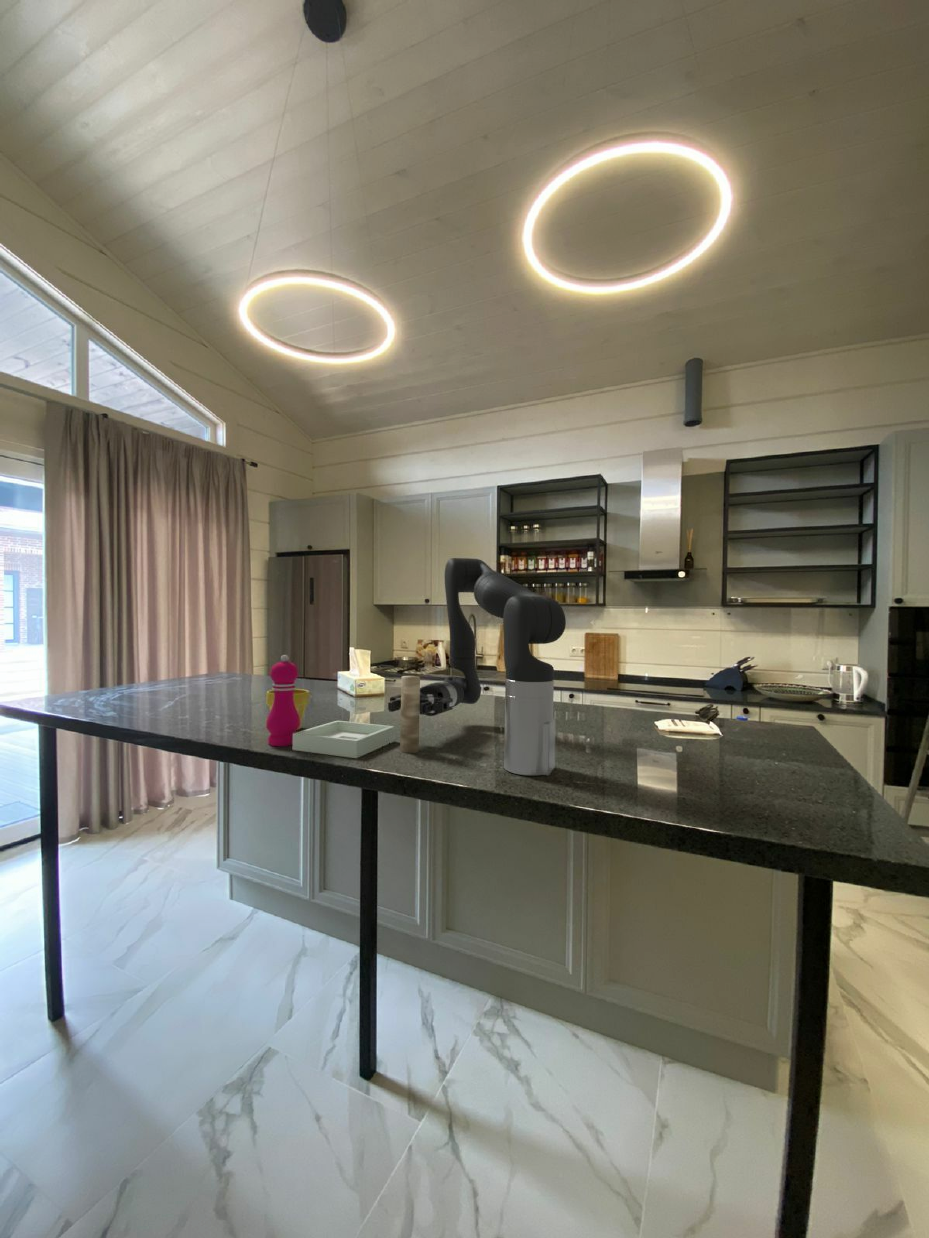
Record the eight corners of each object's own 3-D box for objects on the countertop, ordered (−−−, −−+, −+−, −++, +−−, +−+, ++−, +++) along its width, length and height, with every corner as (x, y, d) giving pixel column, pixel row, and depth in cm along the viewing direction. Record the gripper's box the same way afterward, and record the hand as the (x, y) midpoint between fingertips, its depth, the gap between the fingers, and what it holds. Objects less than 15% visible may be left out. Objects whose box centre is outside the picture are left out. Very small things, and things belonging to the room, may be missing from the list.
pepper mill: (304, 739, 116) (306, 654, 116) (291, 747, 109) (293, 656, 109) (275, 738, 116) (277, 653, 117) (259, 746, 109) (261, 655, 109)
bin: (394, 741, 116) (394, 726, 116) (356, 758, 101) (356, 740, 101) (336, 734, 122) (337, 720, 122) (292, 749, 107) (292, 733, 107)
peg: (421, 749, 109) (423, 676, 109) (413, 753, 105) (414, 678, 105) (405, 747, 110) (406, 675, 110) (396, 751, 107) (398, 677, 107)
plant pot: (312, 725, 132) (313, 688, 132) (302, 733, 122) (303, 694, 122) (273, 724, 132) (273, 688, 132) (259, 733, 121) (260, 693, 121)
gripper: (411, 680, 124) (376, 688, 108) (464, 684, 119) (436, 692, 103) (410, 710, 124) (375, 722, 108) (464, 715, 119) (436, 728, 103)
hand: (405, 708), depth 106 cm, fingers open, 7 cm apart
